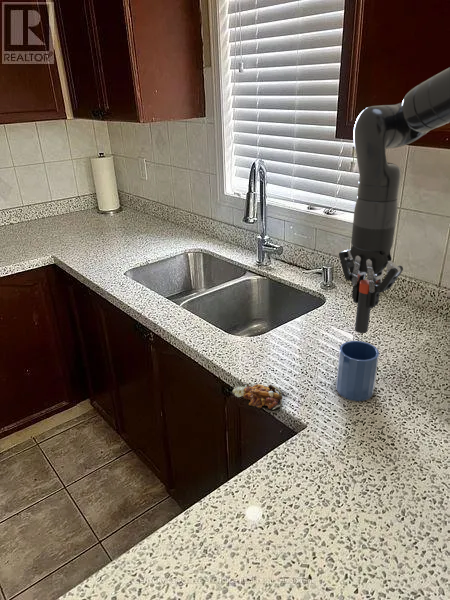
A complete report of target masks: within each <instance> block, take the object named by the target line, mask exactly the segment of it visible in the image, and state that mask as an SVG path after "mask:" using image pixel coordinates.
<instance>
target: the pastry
mask: <svg viewBox="0 0 450 600" xmlns="http://www.w3.org/2000/svg"><path fill="white" fill-rule="evenodd" d="M231 392H232V394H234V396H235V397H237V398H241V397H243V398H244V399H246V400H249V402H248V406H253V407H255V408H260V409H262V407H263V406H267V408H268V409H269V410H271V411H272V410H275V409H277V408H280V406H281V405H283V397H286V396H287V394H286V393H285V392H284V390H283V389H282V388H279V387H277V386H275V385H274V384H267V386H265V385H263V384H254V385H253V386H251V385H250V384H249V383H245V382H243V383H242V385H240V384H238V385H237V386H235V387H234V388H233V389H232V391H231Z"/></svg>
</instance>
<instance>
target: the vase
mask: <svg viewBox="0 0 450 600" xmlns="http://www.w3.org/2000/svg"><path fill="white" fill-rule="evenodd" d="M338 349H339V351H338V362H337V372H336V381H335V389H336V391H337V393H338V394H339V396H340V397H342V398H344V399H346V400H350V401H354V402H363V401H367V400H370V399H371V398H372V397H373V396H374V392H375V387H376V378H377V371H378V366H379V365H378V363H379V357H380V352H379V349H378V348H377V347H376V346H375V345H373V344H372V343H369V342H367V341H362V340H349V341H346V342H344V343H341V345H340V346H339V348H338Z"/></svg>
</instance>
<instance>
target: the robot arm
mask: <svg viewBox="0 0 450 600" xmlns="http://www.w3.org/2000/svg"><path fill="white" fill-rule="evenodd" d="M449 123H450V66H449V67H448V68H446V69H444V70H442V71H440V72H438V73H437V74H434V75H433V76H431V77H429V78H427V79H426V80H424V81H422V82H420V83H419V84H417V85H416V86H414V87H412V88H411V89H410V90H409V91H407V93H406V94H405V96H404V97H403V100H402V102H399V103H396V104H382V105H380V104H379V105H371V106H368V107H365V109H363V110H362V111H361V112H360V113H359V115H358V116H357V118H356V121H355V124H354V127H353V145H354V149H355V155H356V162H357V163H356V164H357V167H358V168H357V169H358V174H359V177H358V185H357V195H356V201H355V204H354V211H353V219H352V220H353V222H352V232H351V240H350V243H351V247H350V249H345V250H343V251H339V253H338V257H339V262H340V265H341V269H342V272H343V276H344V279H345V281H349V282H350V283H351V285H352V292H351V299H352V302H353V303H355V304H358V296H359V285H360V281H361V280H368V281H369V292H368V299H367V308H369V309H370V310H371V309H373V308H376V306H378V305H379V301H380V294H381V293H384V292H386V291H388V290H390V288H392V286H393V285H394V283H395V282H396V281H397V279H398V278H399V277H400V275H401V274H402V272H403V271H404V267H403V265H397V264H396V263H394V262H393V261H392V259H393V258H392V255H391V251H392V248H393V244H394V237H395V229H396V223H397V216H398V197H399V191H400V184H401V177H402V173H401V172H402V171H401V169H400V166H398V165H397V164H395V163H392V162H388V160H387V154H386V151H387V150H389V149H396V148H401V147H404V146H406V145H410V144H411V143H414V142H416V141H417V140H419V139H420V138H422V137H423V136H425V135H427V133H429V132H430V131H432V130H434V129H438V128H440V127H442V126H445V125H446V124H449ZM384 269H386V271H385V270H384ZM384 271H385V274H386V275H385V276H384ZM366 275H367V279H366Z"/></svg>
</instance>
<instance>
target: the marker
mask: <svg viewBox="0 0 450 600" xmlns="http://www.w3.org/2000/svg"><path fill="white" fill-rule="evenodd" d="M368 292H369V281H368V279H364V280H361V281H360V285H359V296H358V303H357V304H356V313H355V323H354V331H355V332H356V333H359V334H366V333H368V331H369V324H370V315H371V309H369V308H367V299H368Z"/></svg>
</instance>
